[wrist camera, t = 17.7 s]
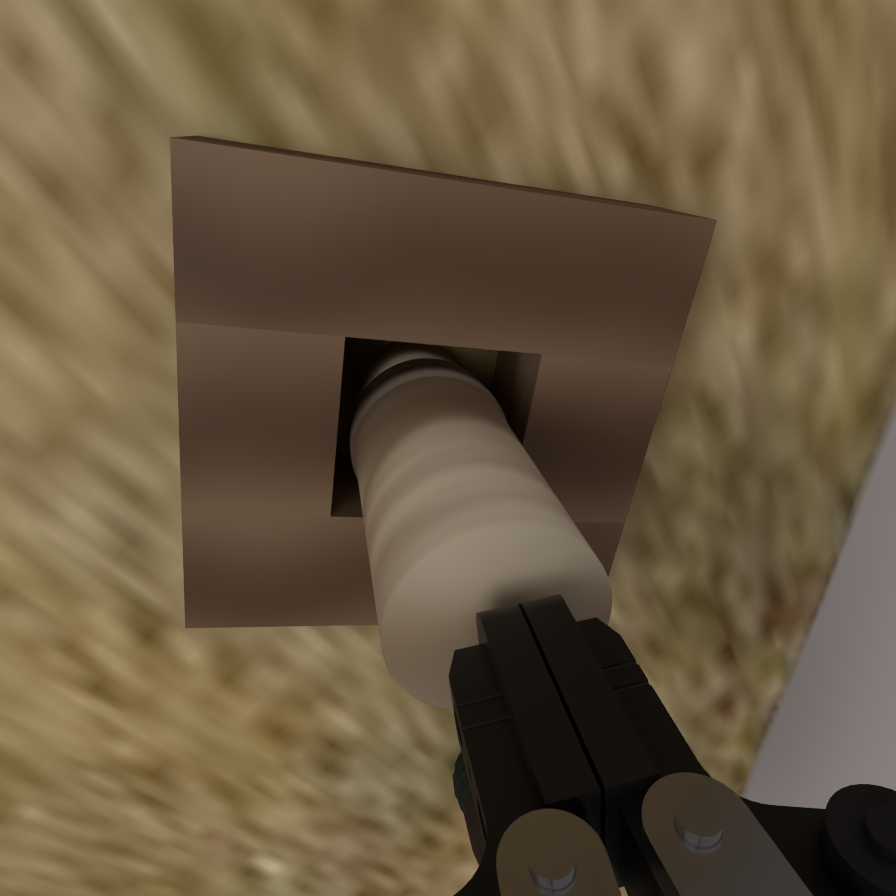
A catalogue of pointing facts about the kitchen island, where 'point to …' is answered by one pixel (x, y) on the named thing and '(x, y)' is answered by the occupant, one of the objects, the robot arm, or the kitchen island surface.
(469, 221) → the block
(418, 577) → the peg
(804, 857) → the robot arm
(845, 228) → the kitchen island surface
